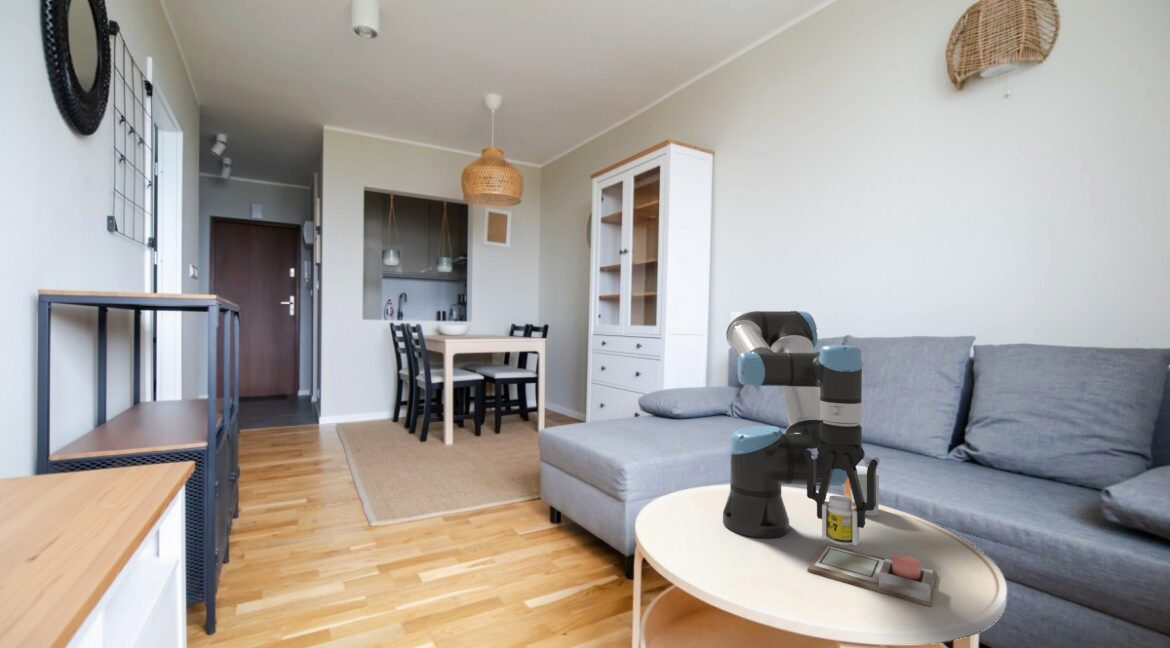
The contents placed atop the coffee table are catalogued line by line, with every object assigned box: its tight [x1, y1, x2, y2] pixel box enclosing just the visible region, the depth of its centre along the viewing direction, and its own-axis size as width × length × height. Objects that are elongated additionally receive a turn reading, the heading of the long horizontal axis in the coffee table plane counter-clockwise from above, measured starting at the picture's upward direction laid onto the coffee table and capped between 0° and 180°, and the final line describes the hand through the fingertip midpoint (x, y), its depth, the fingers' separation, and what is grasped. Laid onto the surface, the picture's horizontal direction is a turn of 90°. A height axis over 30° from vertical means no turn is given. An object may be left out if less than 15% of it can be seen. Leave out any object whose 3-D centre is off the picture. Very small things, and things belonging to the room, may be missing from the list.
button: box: [891, 553, 922, 582], centre depth 92 cm, size 4×4×3 cm
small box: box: [843, 465, 880, 517], centre depth 132 cm, size 8×6×10 cm
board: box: [806, 543, 938, 608], centre depth 99 cm, size 20×14×3 cm
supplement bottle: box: [827, 495, 853, 546], centre depth 101 cm, size 5×5×8 cm
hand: (840, 538), depth 101 cm, fingers closed on supplement bottle, 5 cm apart
